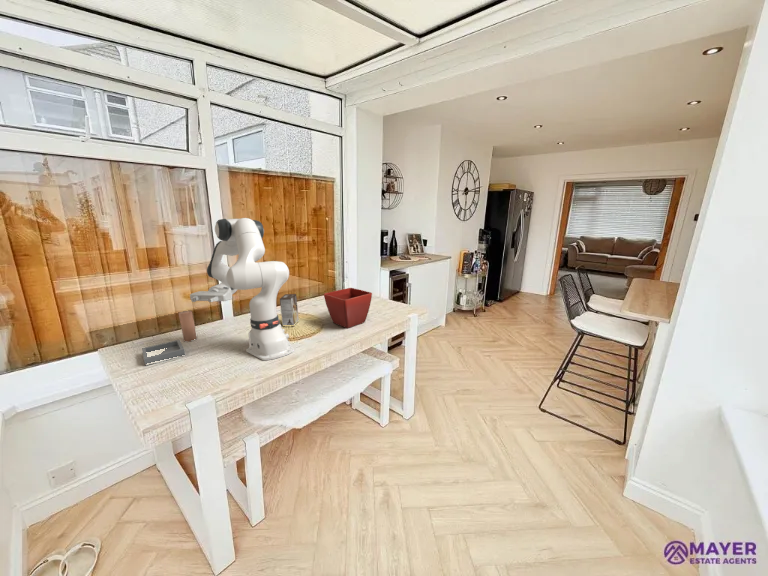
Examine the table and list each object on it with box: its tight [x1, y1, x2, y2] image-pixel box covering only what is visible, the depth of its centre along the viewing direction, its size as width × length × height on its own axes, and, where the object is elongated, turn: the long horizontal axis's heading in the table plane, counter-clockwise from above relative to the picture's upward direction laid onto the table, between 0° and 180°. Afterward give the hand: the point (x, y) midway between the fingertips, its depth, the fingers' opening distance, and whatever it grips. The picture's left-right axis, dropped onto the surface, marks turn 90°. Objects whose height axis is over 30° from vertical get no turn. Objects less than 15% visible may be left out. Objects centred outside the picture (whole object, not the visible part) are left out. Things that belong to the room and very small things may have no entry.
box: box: [141, 339, 186, 365], centre depth 139 cm, size 14×14×3 cm
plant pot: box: [323, 287, 373, 329], centre depth 172 cm, size 19×19×17 cm
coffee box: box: [279, 293, 300, 326], centre depth 172 cm, size 9×6×16 cm
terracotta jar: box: [178, 310, 198, 342], centre depth 154 cm, size 6×6×14 cm
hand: (201, 300), depth 164 cm, fingers open, 8 cm apart
